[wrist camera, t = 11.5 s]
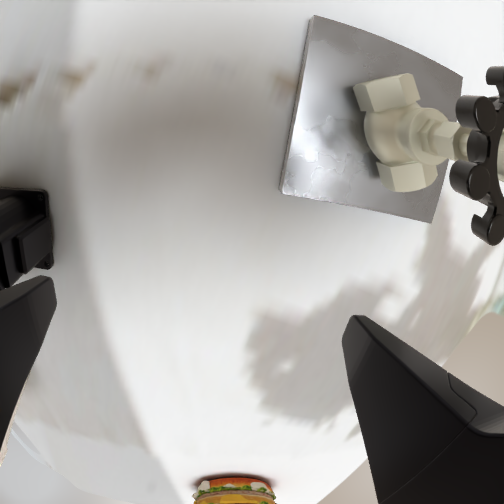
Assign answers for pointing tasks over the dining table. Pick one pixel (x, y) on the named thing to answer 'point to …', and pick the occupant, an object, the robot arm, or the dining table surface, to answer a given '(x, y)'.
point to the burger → (234, 492)
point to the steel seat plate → (356, 120)
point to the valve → (439, 143)
